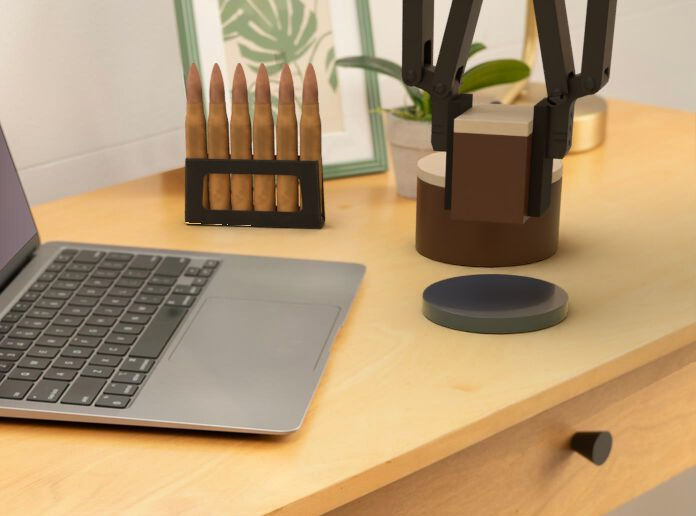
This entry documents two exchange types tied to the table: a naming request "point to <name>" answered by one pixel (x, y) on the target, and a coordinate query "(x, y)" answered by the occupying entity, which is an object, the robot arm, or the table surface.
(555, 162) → the cake
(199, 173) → the ammunition clip
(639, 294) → the table surface
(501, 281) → the plate
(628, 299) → the table surface
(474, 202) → the cake slice
